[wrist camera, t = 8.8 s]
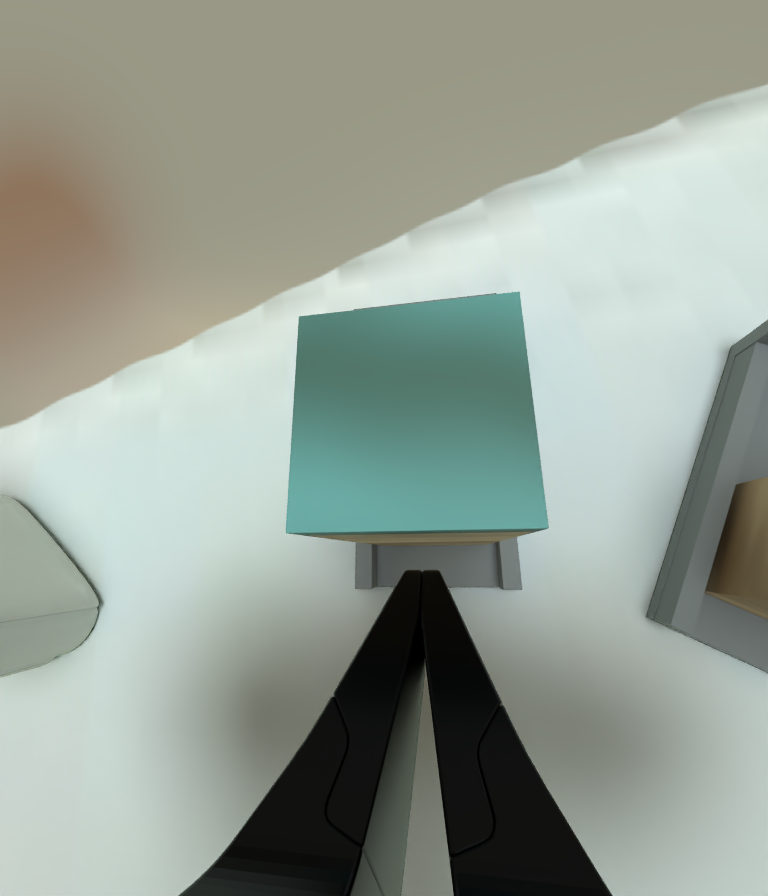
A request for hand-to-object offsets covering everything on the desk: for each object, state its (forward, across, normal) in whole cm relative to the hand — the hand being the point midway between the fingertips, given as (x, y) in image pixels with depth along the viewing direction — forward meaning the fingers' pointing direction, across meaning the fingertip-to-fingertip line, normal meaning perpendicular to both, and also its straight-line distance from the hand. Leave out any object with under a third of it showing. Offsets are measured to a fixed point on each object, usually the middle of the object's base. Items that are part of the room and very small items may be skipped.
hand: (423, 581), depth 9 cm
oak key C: (+8, 0, +3) cm, 8 cm away
